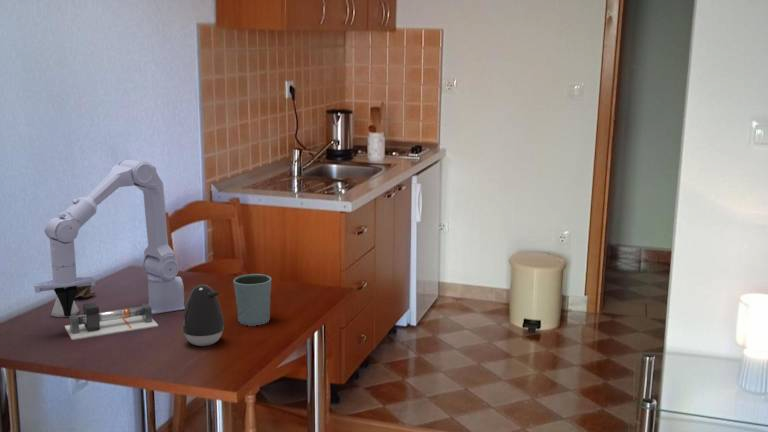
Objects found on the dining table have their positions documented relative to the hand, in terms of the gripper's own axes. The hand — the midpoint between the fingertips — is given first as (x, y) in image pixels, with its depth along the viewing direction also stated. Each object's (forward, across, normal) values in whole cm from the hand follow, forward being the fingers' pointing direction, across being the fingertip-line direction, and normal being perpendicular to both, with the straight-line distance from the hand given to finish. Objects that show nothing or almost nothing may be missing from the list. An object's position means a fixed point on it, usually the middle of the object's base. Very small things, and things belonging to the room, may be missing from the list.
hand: (67, 315), depth 216 cm
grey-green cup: (+5, -46, +13) cm, 48 cm away
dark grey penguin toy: (+5, -29, +23) cm, 37 cm away
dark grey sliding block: (+5, -6, 0) cm, 8 cm away
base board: (+5, -11, 0) cm, 12 cm away
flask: (+5, -2, -17) cm, 18 cm away
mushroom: (+5, -9, -31) cm, 33 cm away
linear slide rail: (+5, -11, 0) cm, 12 cm away
